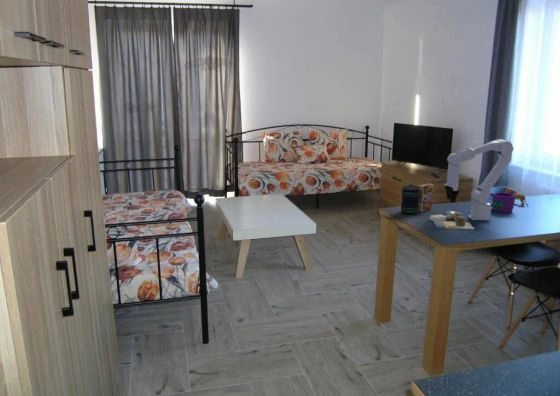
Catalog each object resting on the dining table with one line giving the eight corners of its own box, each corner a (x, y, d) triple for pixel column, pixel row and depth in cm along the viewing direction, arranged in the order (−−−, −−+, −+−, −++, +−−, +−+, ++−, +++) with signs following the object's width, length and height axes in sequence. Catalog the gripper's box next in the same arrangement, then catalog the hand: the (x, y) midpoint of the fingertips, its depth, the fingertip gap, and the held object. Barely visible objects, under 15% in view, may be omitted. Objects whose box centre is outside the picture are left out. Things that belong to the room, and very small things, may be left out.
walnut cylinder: (463, 223, 245) (464, 216, 244) (465, 226, 241) (466, 218, 240) (454, 223, 245) (455, 216, 244) (456, 226, 241) (457, 218, 240)
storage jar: (417, 211, 270) (419, 185, 266) (419, 216, 260) (421, 189, 257) (399, 210, 271) (401, 185, 268) (401, 215, 262) (402, 189, 258)
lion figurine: (502, 202, 288) (503, 188, 285) (506, 200, 291) (508, 186, 289) (526, 207, 276) (528, 192, 274) (530, 205, 279) (532, 191, 277)
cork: (459, 220, 252) (460, 212, 251) (461, 222, 249) (461, 213, 248) (453, 220, 252) (454, 212, 251) (455, 221, 249) (455, 213, 248)
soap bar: (440, 218, 256) (440, 214, 256) (445, 221, 252) (446, 216, 252) (429, 220, 254) (430, 215, 253) (435, 222, 250) (435, 217, 249)
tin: (455, 216, 259) (456, 210, 258) (457, 220, 253) (458, 213, 252) (444, 216, 260) (444, 210, 259) (445, 219, 254) (446, 213, 253)
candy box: (421, 212, 267) (423, 186, 264) (415, 210, 271) (417, 184, 267) (431, 209, 272) (433, 184, 268) (425, 208, 276) (427, 182, 272)
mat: (468, 222, 248) (468, 221, 248) (474, 229, 237) (474, 227, 237) (433, 221, 250) (433, 220, 250) (437, 228, 239) (437, 226, 239)
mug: (517, 212, 267) (519, 194, 264) (506, 215, 261) (508, 197, 258) (489, 205, 281) (490, 189, 278) (477, 208, 274) (479, 191, 272)
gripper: (442, 173, 257) (440, 197, 261) (448, 178, 243) (446, 203, 247) (455, 173, 257) (453, 197, 260) (462, 178, 243) (460, 204, 246)
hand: (450, 200), depth 253 cm, fingers open, 7 cm apart
